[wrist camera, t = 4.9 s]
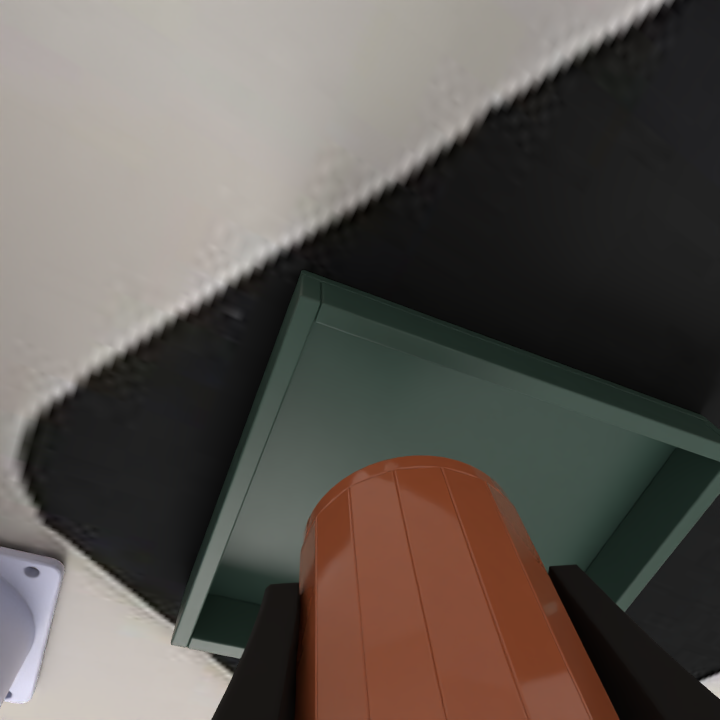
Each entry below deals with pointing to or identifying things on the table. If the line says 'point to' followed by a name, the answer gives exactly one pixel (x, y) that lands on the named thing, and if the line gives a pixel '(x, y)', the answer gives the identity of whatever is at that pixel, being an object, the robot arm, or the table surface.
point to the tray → (442, 451)
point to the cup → (433, 605)
